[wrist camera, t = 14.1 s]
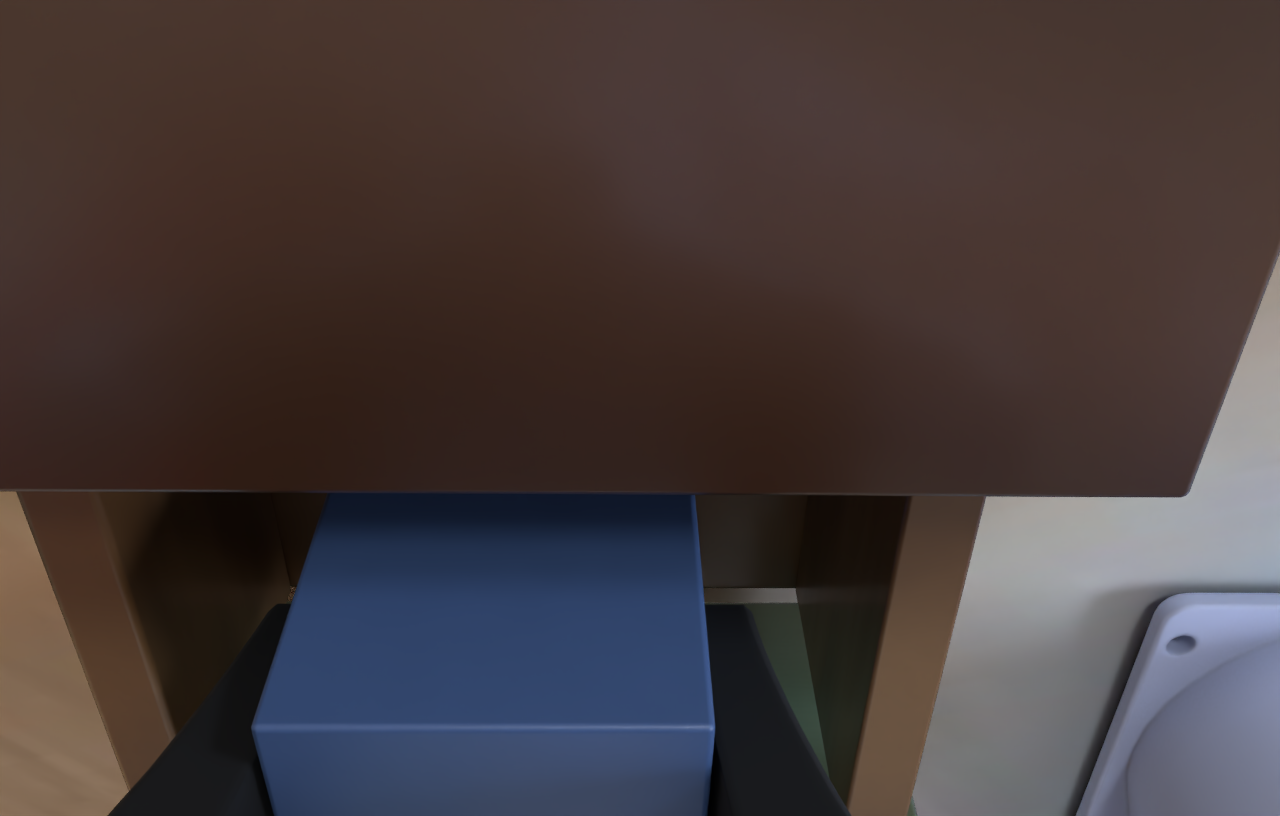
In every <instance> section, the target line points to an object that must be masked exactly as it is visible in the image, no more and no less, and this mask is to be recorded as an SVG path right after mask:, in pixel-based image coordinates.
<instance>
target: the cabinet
mask: <svg viewBox="0 0 1280 816" xmlns="http://www.w3.org/2000/svg"><path fill="white" fill-rule="evenodd" d="M1279 253H1280V0H0V491H49V492H243V493H438V494H632V495H826V496H1020V497H1183V496H1186V495H1187V494H1188V493H1189V491H1190V489H1191V486H1192V483H1193V481H1194V478H1195V475H1196V473H1197V470H1198V468H1199V465H1200V462H1201V460H1202V457H1203V454H1204V452H1205V449H1206V446H1207V444H1208V441H1209V438H1210V436H1211V433H1212V430H1213V428H1214V425H1215V423H1216V420H1217V417H1218V415H1219V412H1220V409H1221V407H1222V404H1223V401H1224V399H1225V396H1226V393H1227V391H1228V388H1229V385H1230V383H1231V380H1232V378H1233V375H1234V372H1235V370H1236V367H1237V364H1238V362H1239V359H1240V356H1241V354H1242V351H1243V348H1244V346H1245V343H1246V340H1247V338H1248V335H1249V333H1250V330H1251V327H1252V325H1253V322H1254V319H1255V317H1256V314H1257V311H1258V309H1259V306H1260V303H1261V301H1262V298H1263V295H1264V293H1265V290H1266V288H1267V285H1268V282H1269V280H1270V277H1271V274H1272V272H1273V269H1274V266H1275V264H1276V261H1277V258H1278V256H1279Z"/></svg>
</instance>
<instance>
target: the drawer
mask: <svg viewBox="0 0 1280 816" xmlns="http://www.w3.org/2000/svg"><path fill="white" fill-rule="evenodd" d="M16 492H17V495H18V498H19V500H20V503H21V506H22V508H23V511H24V514H25V516H26V519H27V522H28V524H29V527H30V530H31V532H32V535H33V537H34V540H35V543H36V545H37V548H38V551H39V553H40V556H41V559H42V561H43V564H44V567H45V569H46V572H47V575H48V577H49V580H50V583H51V585H52V588H53V591H54V593H55V596H56V599H57V601H58V604H59V607H60V609H61V612H62V615H63V617H64V620H65V623H66V625H67V628H68V630H69V633H70V636H71V638H72V641H73V644H74V646H75V649H76V652H77V654H78V657H79V660H80V662H81V665H82V668H83V670H84V673H85V676H86V678H87V681H88V684H89V686H90V689H91V692H92V694H93V697H94V700H95V702H96V705H97V708H98V710H99V713H100V716H101V718H102V721H103V723H104V726H105V729H106V731H107V734H108V737H109V739H110V742H111V745H112V747H113V750H114V753H115V755H116V758H117V761H118V763H119V766H120V769H121V771H122V774H123V777H124V779H125V782H126V785H127V787H128V790H129V791H130V790H131V788H132V787H133V786H134V785H135V784H136V783H137V782H138V781H139V779H140V778H141V777H142V776H143V775H144V774H145V773H146V771H147V770H148V769H149V768H150V767H151V766H152V764H153V763H154V762H155V761H156V760H157V758H158V757H159V756H160V755H161V753H162V752H163V751H164V750H165V748H166V747H167V746H168V745H169V743H170V742H171V741H172V740H173V738H174V737H175V736H176V735H177V733H178V732H179V731H180V730H181V728H182V727H183V726H184V725H185V723H186V722H187V721H188V720H189V718H190V717H191V716H192V715H193V713H194V712H195V711H196V710H197V708H198V707H199V706H200V705H201V703H202V702H203V701H204V699H205V698H206V697H207V695H208V694H209V693H210V691H211V690H212V689H213V687H214V686H215V685H216V684H217V682H218V681H219V680H220V678H221V677H222V676H223V674H224V673H225V672H226V670H227V669H228V667H229V666H230V665H231V663H232V662H233V661H234V659H235V658H236V657H237V655H238V654H239V652H240V651H241V650H242V648H243V647H244V645H245V644H246V643H247V641H248V640H249V638H250V637H251V636H252V634H253V633H254V631H255V630H256V629H257V627H258V626H259V624H260V623H261V621H262V620H263V619H264V617H265V616H266V614H267V613H268V611H269V610H271V609H272V608H273V607H274V606H275V605H276V604H291V603H292V601H287V599H288V596H289V593H290V590H291V587H290V586H297V585H298V581H299V578H300V575H301V572H302V569H303V566H304V563H305V560H306V557H307V554H308V551H309V548H310V545H311V542H312V538H313V535H314V532H315V529H316V526H317V523H318V520H319V517H320V514H321V511H322V508H323V505H324V502H325V499H326V496H327V493H243V492H49V491H16ZM695 499H696V511H697V522H698V534H699V545H700V557H701V568H702V580H703V588H796V595H797V600H798V603H705V605H744V606H746V607H747V608H748V609H749V610H750V611H751V612H752V613H753V616H754V620H755V623H756V626H757V629H758V632H759V634H760V637H761V640H762V643H763V645H764V648H765V650H766V653H767V655H768V658H769V660H770V662H771V665H772V667H773V669H774V672H775V674H776V676H777V678H778V680H779V683H780V685H781V687H782V689H783V691H784V693H785V695H786V698H787V700H788V702H789V704H790V706H791V708H792V710H793V712H794V714H795V716H796V718H797V720H798V722H799V724H800V726H801V728H802V730H803V731H804V733H805V735H806V737H807V739H808V741H809V743H810V744H811V746H812V748H813V750H814V752H815V754H816V755H817V757H818V759H819V761H820V763H821V765H822V767H823V768H824V770H825V772H826V774H827V775H828V777H829V779H830V781H831V782H832V784H833V786H834V788H835V789H836V791H837V793H838V794H839V796H840V798H841V799H842V801H843V803H844V804H845V806H846V807H847V809H848V811H849V812H850V814H851V816H917V813H916V809H915V805H914V800H913V796H912V793H913V789H914V785H915V781H916V777H917V773H918V769H919V765H920V761H921V757H922V753H923V749H924V745H925V741H926V737H927V733H928V729H929V725H930V721H931V717H932V713H933V709H934V705H935V701H936V696H937V692H938V688H939V684H940V680H941V676H942V672H943V668H944V664H945V660H946V656H947V652H948V648H949V644H950V640H951V636H952V632H953V628H954V624H955V620H956V616H957V612H958V608H959V604H960V600H961V596H962V592H963V588H964V584H965V579H966V575H967V571H968V567H969V563H970V559H971V555H972V551H973V547H974V543H975V539H976V535H977V531H978V527H979V523H980V519H981V515H982V511H983V507H984V503H985V499H986V496H826V495H695Z"/></svg>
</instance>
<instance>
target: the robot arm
mask: <svg viewBox="0 0 1280 816" xmlns="http://www.w3.org/2000/svg"><path fill="white" fill-rule="evenodd" d="M290 606H291V604H276V605H275V606H274V607H273V608H272V609H271V610H269V611H268V613H267V614H266V616H265V617H264V619H263V620H262V621H261V623H260V624H259V626H258V627H257V629H256V630H255V631H254V633H253V634H252V636H251V637H250V638H249V640H248V641H247V643H246V644H245V645H244V647H243V648H242V650H241V651H240V652H239V654H238V655H237V657H236V658H235V659H234V661H233V662H232V663H231V665H230V666H229V667H228V669H227V670H226V672H225V673H224V674H223V676H222V677H221V678H220V680H219V681H218V682H217V684H216V685H215V686H214V687H213V689H212V690H211V691H210V693H209V694H208V695H207V697H206V698H205V699H204V701H203V702H202V703H201V705H200V706H199V707H198V708H197V710H196V711H195V712H194V713H193V715H192V716H191V717H190V718H189V720H188V721H187V722H186V723H185V725H184V726H183V727H182V728H181V730H180V731H179V732H178V733H177V735H176V736H175V737H174V738H173V740H172V741H171V742H170V743H169V745H168V746H167V747H166V748H165V750H164V751H163V752H162V753H161V755H160V756H159V757H158V758H157V760H156V761H155V762H154V763H153V764H152V766H151V767H150V768H149V769H148V770H147V771H146V773H145V774H144V775H143V776H142V777H141V778H140V779H139V781H138V782H137V783H136V784H135V785H134V786H133V787H132V788H131V790H130V791H129V792H128V793H127V794H126V795H125V796H124V798H123V799H122V800H121V801H120V802H119V803H118V804H117V806H116V807H115V808H114V809H113V810H112V811H111V812H110V813H109V815H108V816H274V813H273V810H272V806H271V802H270V798H269V795H268V791H267V787H266V783H265V780H264V776H263V772H262V768H261V765H260V761H259V757H258V753H257V750H256V746H255V742H254V738H253V735H252V730H251V726H252V723H253V720H254V716H255V713H256V710H257V707H258V704H259V701H260V698H261V695H262V692H263V689H264V686H265V683H266V680H267V677H268V674H269V670H270V667H271V664H272V661H273V658H274V655H275V652H276V649H277V646H278V643H279V640H280V637H281V634H282V631H283V627H284V624H285V621H286V618H287V615H288V612H289V609H290ZM705 614H706V626H707V637H708V649H709V660H710V672H711V683H712V695H713V706H714V718H715V737H714V749H713V760H712V772H711V784H710V795H709V807H708V816H851V814H850V812H849V811H848V809H847V807H846V806H845V804H844V803H843V801H842V799H841V798H840V796H839V794H838V793H837V791H836V789H835V788H834V786H833V784H832V782H831V781H830V779H829V777H828V775H827V774H826V772H825V770H824V768H823V767H822V765H821V763H820V761H819V759H818V757H817V755H816V754H815V752H814V750H813V748H812V746H811V744H810V743H809V741H808V739H807V737H806V735H805V733H804V731H803V730H802V728H801V726H800V724H799V722H798V720H797V718H796V716H795V714H794V712H793V710H792V708H791V706H790V704H789V702H788V700H787V698H786V695H785V693H784V691H783V689H782V687H781V685H780V683H779V680H778V678H777V676H776V674H775V672H774V669H773V667H772V665H771V662H770V660H769V658H768V655H767V653H766V650H765V648H764V645H763V643H762V640H761V637H760V634H759V632H758V629H757V626H756V623H755V620H754V616H753V613H752V612H751V611H750V610H749V609H748V608H747V607H746V606H744V605H705ZM1178 636H1180V637H1178ZM1176 637H1178V638H1176ZM1174 638H1176V639H1174ZM1076 816H1280V593H1181V594H1176V595H1174V596H1171V597H1169V598H1167V599H1166V600H1164V601H1163V602H1162V603H1161V604H1159V606H1158V607H1157V609H1156V610H1155V612H1154V614H1153V617H1152V619H1151V622H1150V625H1149V627H1148V630H1147V632H1146V635H1145V638H1144V640H1143V643H1142V645H1141V648H1140V651H1139V653H1138V656H1137V658H1136V661H1135V663H1134V666H1133V669H1132V671H1131V674H1130V676H1129V679H1128V682H1127V684H1126V687H1125V689H1124V692H1123V695H1122V697H1121V700H1120V702H1119V705H1118V708H1117V710H1116V713H1115V715H1114V718H1113V721H1112V723H1111V726H1110V728H1109V731H1108V734H1107V736H1106V739H1105V741H1104V744H1103V747H1102V749H1101V752H1100V754H1099V757H1098V760H1097V762H1096V765H1095V767H1094V770H1093V773H1092V775H1091V778H1090V780H1089V783H1088V786H1087V788H1086V791H1085V793H1084V796H1083V799H1082V801H1081V804H1080V806H1079V809H1078V812H1077V814H1076Z"/></svg>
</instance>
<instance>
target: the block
mask: <svg viewBox="0 0 1280 816" xmlns="http://www.w3.org/2000/svg"><path fill="white" fill-rule="evenodd" d="M251 730H252V735H253V738H254V742H255V746H256V750H257V753H258V757H259V761H260V765H261V768H262V772H263V776H264V780H265V783H266V787H267V791H268V795H269V798H270V802H271V806H272V810H273V813H274V816H708V807H709V795H710V784H711V772H712V760H713V749H714V737H715V718H714V706H713V695H712V683H711V672H710V660H709V649H708V637H707V626H706V614H705V603H704V591H703V580H702V568H701V557H700V545H699V534H698V522H697V511H696V499H695V495H632V494H438V493H327V496H326V499H325V502H324V505H323V508H322V511H321V514H320V517H319V520H318V523H317V526H316V529H315V532H314V535H313V538H312V542H311V545H310V548H309V551H308V554H307V557H306V560H305V563H304V566H303V569H302V572H301V575H300V578H299V581H298V585H297V588H296V591H295V594H294V597H293V600H292V603H291V606H290V609H289V612H288V615H287V618H286V621H285V624H284V627H283V631H282V634H281V637H280V640H279V643H278V646H277V649H276V652H275V655H274V658H273V661H272V664H271V667H270V670H269V674H268V677H267V680H266V683H265V686H264V689H263V692H262V695H261V698H260V701H259V704H258V707H257V710H256V713H255V716H254V720H253V723H252V726H251Z"/></svg>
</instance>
